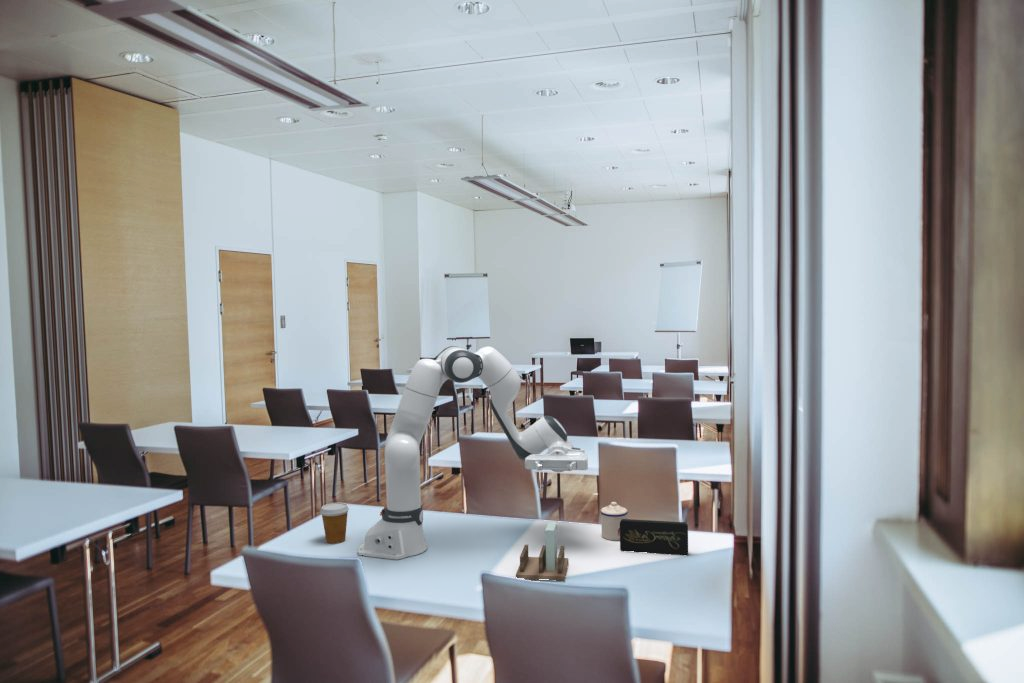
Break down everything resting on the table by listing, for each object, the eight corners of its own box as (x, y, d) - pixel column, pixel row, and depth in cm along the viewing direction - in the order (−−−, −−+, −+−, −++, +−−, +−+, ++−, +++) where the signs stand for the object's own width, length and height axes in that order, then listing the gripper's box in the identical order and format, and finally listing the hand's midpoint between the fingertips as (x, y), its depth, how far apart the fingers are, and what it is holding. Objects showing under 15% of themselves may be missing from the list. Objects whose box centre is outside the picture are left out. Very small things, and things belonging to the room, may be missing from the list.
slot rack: (515, 579, 194) (515, 559, 193) (523, 561, 207) (522, 542, 207) (564, 581, 191) (563, 560, 191) (568, 563, 205) (568, 543, 205)
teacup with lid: (622, 542, 221) (621, 507, 221) (596, 538, 226) (596, 504, 225) (634, 531, 232) (634, 498, 231) (610, 528, 236) (609, 495, 236)
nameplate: (688, 553, 210) (687, 522, 210) (688, 556, 208) (687, 524, 208) (620, 549, 216) (620, 518, 215) (620, 551, 214) (619, 520, 213)
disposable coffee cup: (350, 543, 227) (348, 508, 227) (321, 546, 225) (319, 511, 224) (349, 534, 237) (348, 501, 236) (321, 537, 234) (320, 503, 234)
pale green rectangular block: (546, 570, 196) (545, 530, 195) (549, 561, 202) (548, 522, 202) (555, 571, 195) (554, 530, 195) (557, 562, 202) (556, 522, 201)
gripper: (527, 448, 225) (520, 457, 211) (588, 448, 221) (586, 458, 207) (527, 467, 225) (521, 477, 211) (589, 467, 221) (586, 478, 208)
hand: (554, 468), depth 209 cm, fingers open, 8 cm apart
